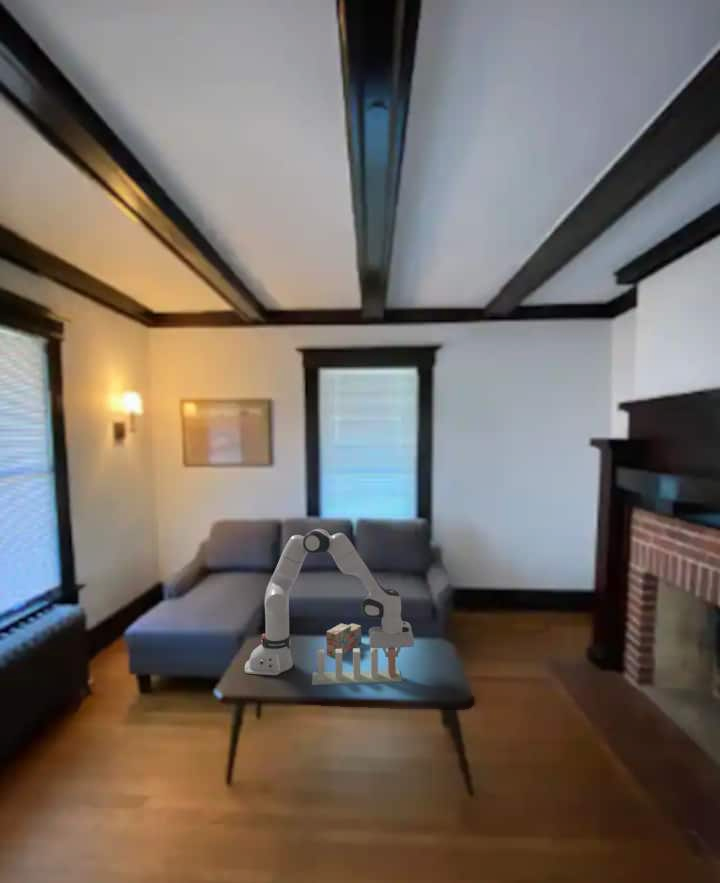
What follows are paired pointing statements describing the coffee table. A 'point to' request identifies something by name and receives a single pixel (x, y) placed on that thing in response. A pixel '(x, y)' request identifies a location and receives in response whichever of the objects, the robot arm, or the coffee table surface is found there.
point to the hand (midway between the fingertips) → (391, 656)
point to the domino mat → (348, 679)
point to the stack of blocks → (343, 638)
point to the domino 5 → (391, 661)
